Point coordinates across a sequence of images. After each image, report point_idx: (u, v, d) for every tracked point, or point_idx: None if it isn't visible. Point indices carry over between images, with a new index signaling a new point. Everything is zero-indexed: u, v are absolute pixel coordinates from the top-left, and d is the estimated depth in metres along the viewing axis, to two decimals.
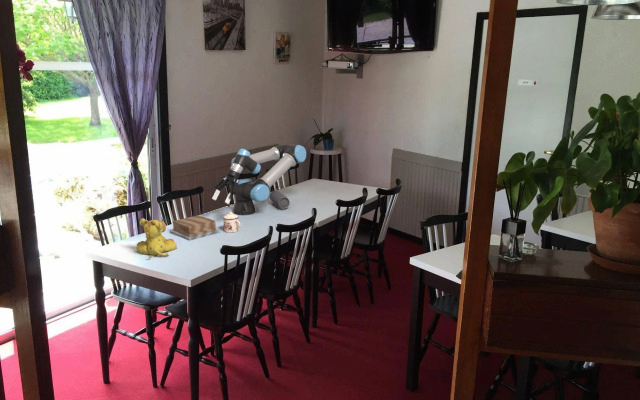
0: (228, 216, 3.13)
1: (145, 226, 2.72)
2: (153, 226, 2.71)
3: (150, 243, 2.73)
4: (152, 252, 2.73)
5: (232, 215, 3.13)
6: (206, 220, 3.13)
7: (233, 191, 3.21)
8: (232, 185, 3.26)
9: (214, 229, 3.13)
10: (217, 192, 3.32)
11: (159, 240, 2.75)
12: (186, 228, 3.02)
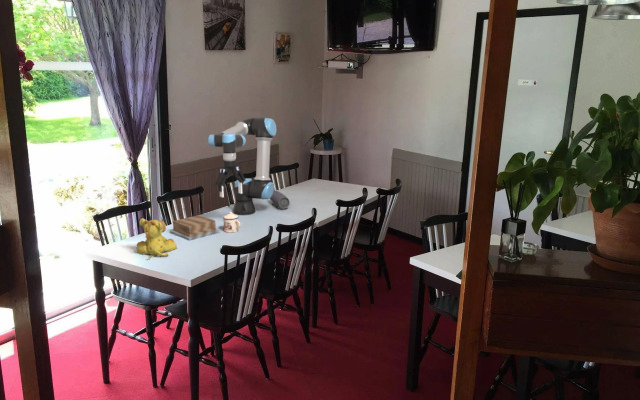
0: (228, 216, 3.13)
1: (145, 226, 2.72)
2: (153, 226, 2.71)
3: (150, 243, 2.73)
4: (152, 252, 2.73)
5: (232, 215, 3.13)
6: (206, 220, 3.13)
7: (244, 180, 3.15)
8: None
9: (214, 229, 3.13)
10: None
11: (159, 240, 2.75)
12: (186, 228, 3.02)
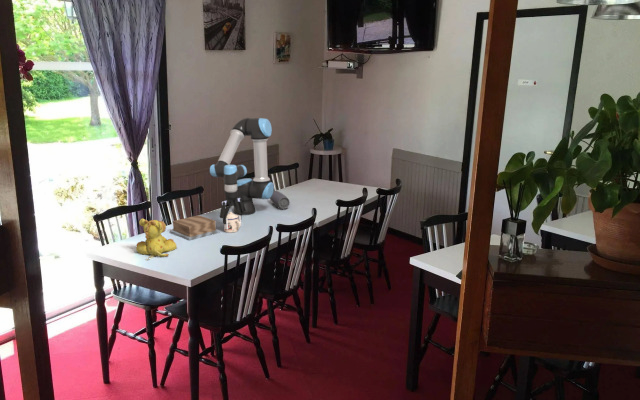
0: (228, 216, 3.13)
1: (145, 226, 2.72)
2: (153, 226, 2.71)
3: (150, 243, 2.73)
4: (152, 252, 2.73)
5: (232, 215, 3.13)
6: (206, 220, 3.13)
7: (243, 212, 3.19)
8: None
9: (214, 229, 3.13)
10: None
11: (159, 240, 2.74)
12: (186, 228, 3.02)
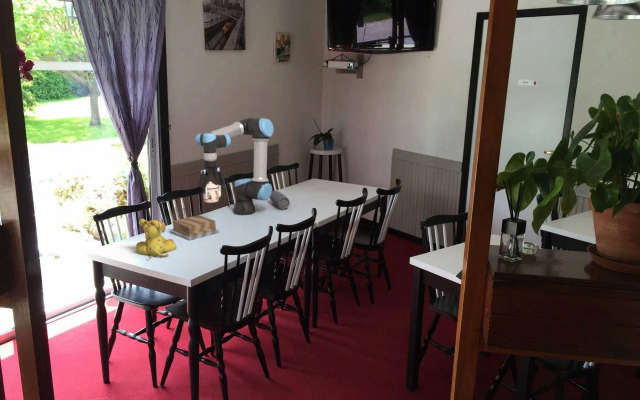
0: (208, 186, 3.06)
1: (145, 226, 2.72)
2: (153, 226, 2.70)
3: (150, 243, 2.72)
4: (152, 252, 2.72)
5: (212, 185, 3.07)
6: (206, 220, 3.13)
7: (223, 182, 3.13)
8: None
9: (214, 229, 3.13)
10: None
11: (159, 240, 2.74)
12: (186, 228, 3.02)
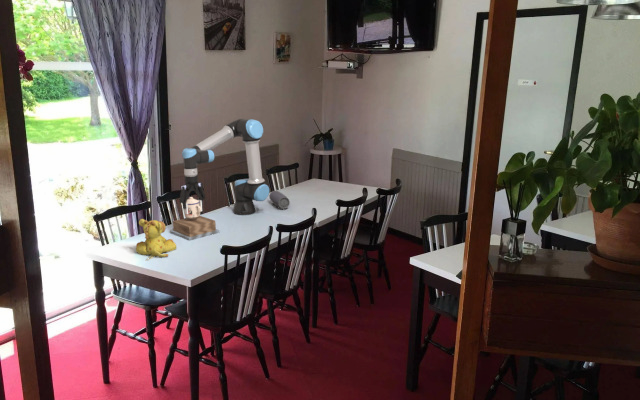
0: (188, 201, 3.07)
1: (145, 226, 2.72)
2: (153, 226, 2.70)
3: (150, 244, 2.72)
4: (152, 253, 2.72)
5: (193, 200, 3.08)
6: (206, 220, 3.13)
7: (204, 197, 3.13)
8: None
9: (214, 229, 3.13)
10: None
11: (159, 240, 2.74)
12: (186, 228, 3.02)
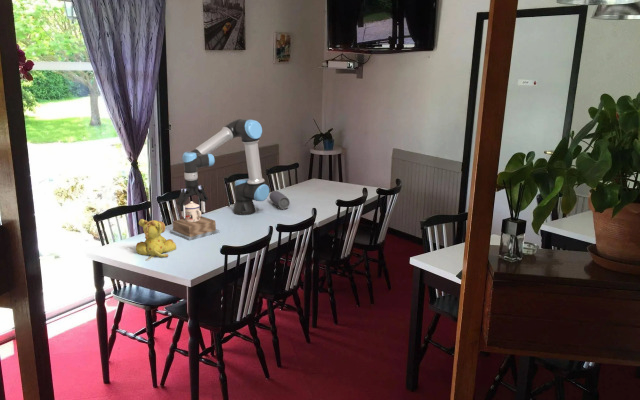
0: (189, 205, 3.08)
1: (144, 227, 2.71)
2: (153, 227, 2.70)
3: (150, 244, 2.72)
4: (152, 253, 2.72)
5: (193, 204, 3.09)
6: (206, 220, 3.13)
7: (207, 198, 3.15)
8: None
9: (214, 229, 3.13)
10: None
11: (159, 241, 2.74)
12: (186, 228, 3.02)
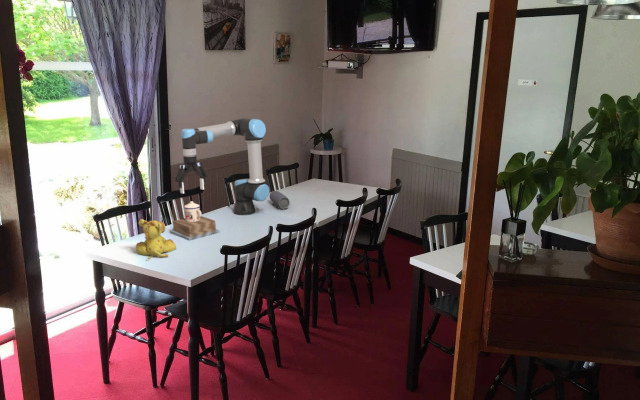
0: (189, 205, 3.08)
1: (144, 227, 2.71)
2: (152, 227, 2.70)
3: (149, 244, 2.72)
4: (151, 253, 2.72)
5: (193, 204, 3.09)
6: (206, 220, 3.13)
7: (206, 175, 3.12)
8: None
9: (214, 229, 3.13)
10: None
11: (158, 241, 2.74)
12: (186, 228, 3.02)
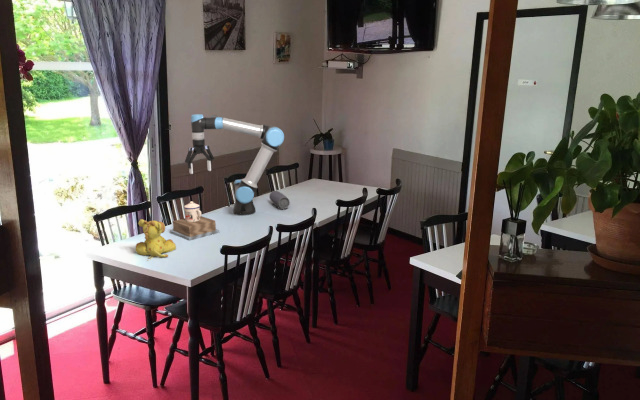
0: (189, 205, 3.08)
1: (144, 227, 2.71)
2: (152, 227, 2.69)
3: (149, 244, 2.71)
4: (151, 253, 2.72)
5: (193, 204, 3.09)
6: (206, 220, 3.13)
7: (213, 158, 3.38)
8: None
9: (214, 229, 3.13)
10: None
11: (158, 241, 2.73)
12: (186, 228, 3.02)
